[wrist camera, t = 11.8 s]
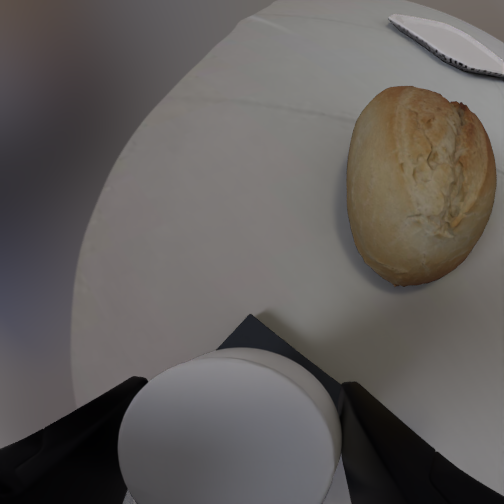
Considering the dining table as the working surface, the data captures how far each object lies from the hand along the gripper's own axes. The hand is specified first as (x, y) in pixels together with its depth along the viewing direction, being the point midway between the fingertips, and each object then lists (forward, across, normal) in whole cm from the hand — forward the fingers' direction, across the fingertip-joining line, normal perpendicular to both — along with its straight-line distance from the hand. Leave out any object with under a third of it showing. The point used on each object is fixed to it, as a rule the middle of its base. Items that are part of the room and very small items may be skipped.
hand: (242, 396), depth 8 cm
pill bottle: (+4, 0, +6) cm, 7 cm away
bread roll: (+14, -10, -4) cm, 18 cm away
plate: (+39, -34, -29) cm, 59 cm away
